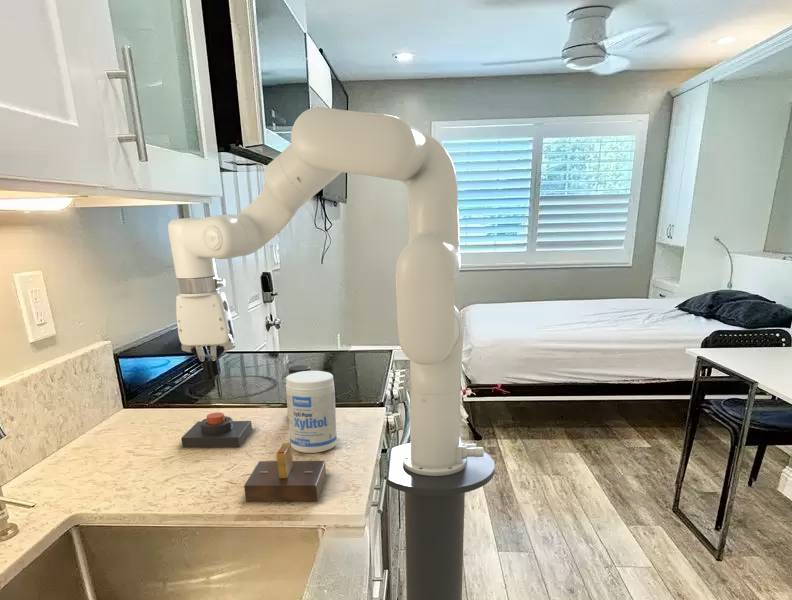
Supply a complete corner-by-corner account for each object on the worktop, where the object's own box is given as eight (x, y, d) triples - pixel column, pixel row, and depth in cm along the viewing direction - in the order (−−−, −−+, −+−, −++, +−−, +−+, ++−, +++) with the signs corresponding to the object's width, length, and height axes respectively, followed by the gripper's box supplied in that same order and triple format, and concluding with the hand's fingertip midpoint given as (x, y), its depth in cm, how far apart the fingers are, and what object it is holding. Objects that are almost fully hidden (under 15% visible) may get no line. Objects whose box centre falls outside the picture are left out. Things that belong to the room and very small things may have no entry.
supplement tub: (295, 457, 111) (288, 385, 106) (286, 441, 120) (280, 373, 114) (343, 450, 114) (339, 379, 109) (331, 434, 123) (327, 367, 117)
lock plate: (326, 475, 103) (324, 459, 102) (317, 501, 94) (316, 484, 93) (261, 476, 104) (259, 460, 103) (246, 501, 95) (243, 484, 94)
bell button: (227, 419, 123) (226, 412, 122) (222, 425, 119) (220, 417, 119) (210, 420, 123) (209, 412, 122) (205, 425, 120) (204, 418, 119)
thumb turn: (285, 466, 100) (282, 441, 99) (293, 466, 100) (290, 441, 98) (278, 478, 96) (276, 452, 94) (287, 478, 96) (284, 452, 94)
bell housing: (252, 430, 127) (250, 413, 125) (239, 447, 117) (237, 429, 116) (199, 430, 127) (196, 413, 126) (182, 447, 118) (179, 429, 117)
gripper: (241, 282, 113) (253, 372, 120) (168, 286, 114) (184, 374, 121) (230, 287, 106) (244, 382, 113) (152, 290, 107) (170, 384, 114)
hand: (213, 378), depth 117 cm, fingers closed
